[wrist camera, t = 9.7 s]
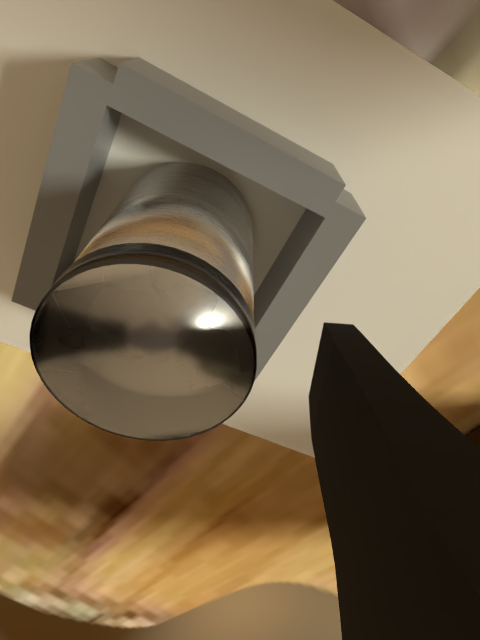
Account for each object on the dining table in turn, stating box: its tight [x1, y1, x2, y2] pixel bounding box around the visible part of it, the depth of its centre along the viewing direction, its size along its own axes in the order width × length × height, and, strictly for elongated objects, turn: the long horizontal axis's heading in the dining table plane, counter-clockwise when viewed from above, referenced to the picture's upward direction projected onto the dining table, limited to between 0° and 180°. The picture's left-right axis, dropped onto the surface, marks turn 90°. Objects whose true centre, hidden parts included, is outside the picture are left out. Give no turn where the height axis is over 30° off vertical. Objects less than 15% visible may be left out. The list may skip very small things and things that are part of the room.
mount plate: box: [0, 0, 480, 458], centre depth 14 cm, size 20×15×3 cm
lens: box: [29, 162, 257, 441], centre depth 12 cm, size 4×4×7 cm
